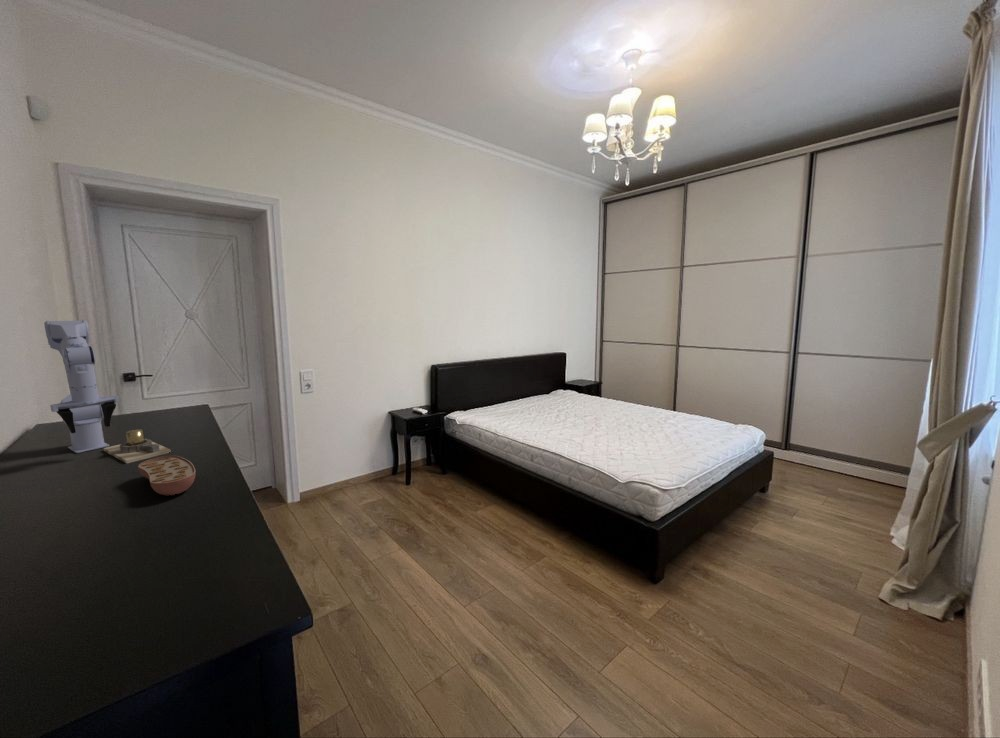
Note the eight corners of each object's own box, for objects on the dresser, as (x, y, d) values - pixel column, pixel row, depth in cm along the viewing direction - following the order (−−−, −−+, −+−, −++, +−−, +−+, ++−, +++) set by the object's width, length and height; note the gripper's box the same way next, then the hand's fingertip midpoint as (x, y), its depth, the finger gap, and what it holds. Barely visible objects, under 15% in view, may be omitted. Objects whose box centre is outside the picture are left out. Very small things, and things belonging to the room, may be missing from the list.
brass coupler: (126, 449, 130) (123, 431, 129) (142, 445, 133) (139, 428, 132) (131, 451, 128) (128, 433, 127) (146, 448, 131) (144, 430, 130)
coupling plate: (103, 451, 131) (102, 442, 130) (146, 441, 140) (145, 433, 140) (126, 463, 121) (125, 454, 120) (170, 452, 130) (169, 443, 130)
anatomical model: (137, 479, 110) (134, 462, 109) (182, 468, 118) (179, 452, 117) (156, 506, 96) (153, 486, 95) (205, 491, 103) (203, 473, 103)
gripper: (52, 392, 113) (60, 437, 115) (119, 383, 125) (126, 425, 128) (45, 389, 117) (53, 433, 119) (112, 381, 129) (118, 421, 131)
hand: (90, 429), depth 123 cm, fingers open, 7 cm apart
